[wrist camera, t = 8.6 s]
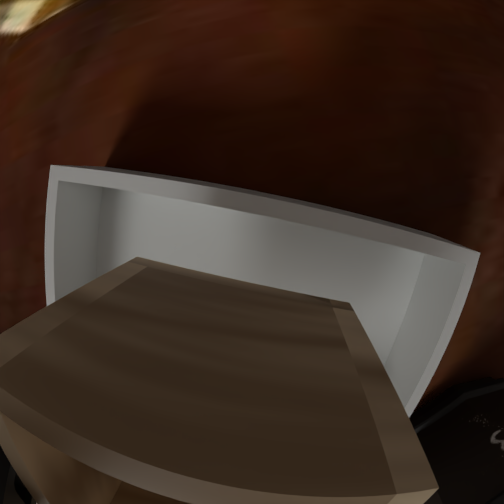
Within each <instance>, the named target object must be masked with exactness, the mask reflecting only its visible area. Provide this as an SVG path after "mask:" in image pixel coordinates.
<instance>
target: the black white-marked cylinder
mask: <svg viewBox="0 0 504 504" xmlns="http://www.w3.org/2000/svg"><path fill="white" fill-rule="evenodd" d="M409 419H410V422H411V424H412V426H413V428H414V430H415V432H416V435H417V437H418V439H419V441H420V444H421V446H422V448H423V450H424V453H425V455H426V457H427V460H428V462H429V464H430V467H431V469H432V472H433V474H434V476H435V479H436V481H437V484H438V486H439V489H438V490H437V491H436V492H435V493H434V494H433V495H432V496H431V497H430V498H429V499H428V500H427V501H426V502H425V503H424V504H504V378H500V379H497V380H494V379H493V378H491V377H488V378H484V379H480V380H476V381H471V382H467V383H463V384H458V385H453V386H452V387H451V388H449V389H448V390H447V391H445V392H444V393H442V394H441V395H440V396H438V397H437V398H435V399H434V400H432V401H431V402H429V403H428V404H426V405H425V406H423V407H422V408H420V409H419V410H417V411H416V412H414V413H413V414H411V416H410V417H409Z"/></svg>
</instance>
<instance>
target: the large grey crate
mask: <svg viewBox="0 0 504 504" xmlns="http://www.w3.org/2000/svg"><path fill="white" fill-rule="evenodd" d="M479 256H480V253H479V252H477V251H474V250H472V249H469V248H467V247H464V246H462V245H459V244H457V243H454V242H452V241H449V240H447V239H444V238H441V237H439V236H436V235H433V234H430V233H427V232H424V231H420V230H417V229H413V228H410V227H406V226H402V225H399V224H395V223H392V222H388V221H384V220H380V219H377V218H373V217H369V216H365V215H361V214H357V213H353V212H349V211H345V210H341V209H337V208H332V207H328V206H324V205H320V204H315V203H311V202H306V201H302V200H297V199H293V198H288V197H283V196H279V195H274V194H269V193H264V192H259V191H254V190H249V189H244V188H239V187H233V186H228V185H222V184H217V183H211V182H205V181H199V180H193V179H187V178H181V177H175V176H168V175H162V174H155V173H148V172H141V171H133V170H126V169H118V168H110V167H97V166H73V165H51V167H50V175H49V184H48V194H47V206H46V223H45V283H46V300H47V306H48V305H50V304H52V303H53V302H55V301H57V300H59V299H60V298H62V297H64V296H66V295H67V294H69V293H71V292H73V291H74V290H76V289H78V288H80V287H82V286H83V285H85V284H87V283H89V282H91V281H92V280H94V279H96V278H98V277H100V276H102V275H103V274H105V273H107V272H109V271H111V270H113V269H115V268H116V267H118V266H120V265H122V264H124V263H126V262H128V261H130V260H131V259H133V258H135V257H141V258H145V259H149V260H154V261H158V262H162V263H166V264H170V265H175V266H179V267H183V268H187V269H192V270H196V271H200V272H205V273H209V274H214V275H218V276H223V277H227V278H232V279H236V280H241V281H245V282H250V283H255V284H259V285H264V286H269V287H273V288H278V289H283V290H288V291H293V292H298V293H303V294H307V295H312V296H317V297H323V298H328V299H333V300H338V301H343V302H348V303H350V304H351V306H352V308H353V310H354V311H355V313H356V315H357V317H358V319H359V321H360V322H361V324H362V326H363V328H364V330H365V332H366V334H367V335H368V337H369V339H370V341H371V343H372V345H373V347H374V349H375V351H376V352H377V354H378V356H379V358H380V360H381V362H382V364H383V366H384V368H385V370H386V372H387V374H388V376H389V378H390V380H391V382H392V384H393V386H394V388H395V390H396V392H397V394H398V396H399V398H400V400H401V402H402V405H403V407H404V409H405V411H406V413H407V415H408V417H410V416H411V414H412V412H413V411H414V409H415V407H416V406H417V404H418V402H419V401H420V399H421V397H422V395H423V393H424V392H425V390H426V388H427V386H428V384H429V382H430V380H431V378H432V377H433V375H434V373H435V371H436V369H437V367H438V365H439V362H440V360H441V358H442V356H443V354H444V352H445V350H446V347H447V345H448V343H449V341H450V338H451V336H452V334H453V331H454V329H455V326H456V324H457V322H458V319H459V316H460V314H461V311H462V309H463V306H464V303H465V300H466V297H467V295H468V292H469V289H470V286H471V283H472V280H473V276H474V273H475V270H476V266H477V263H478V260H479Z"/></svg>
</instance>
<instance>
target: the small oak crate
mask: <svg viewBox="0 0 504 504" xmlns="http://www.w3.org/2000/svg"><path fill="white" fill-rule="evenodd" d="M0 446H1V447H2V449H3V451H4V453H5V455H6V456H7V458H8V460H9V462H10V463H11V465H12V467H13V468H14V470H15V471H16V473H17V475H18V476H19V478H20V479H21V481H22V482H23V484H24V485H25V487H26V488H27V490H28V491H29V493H30V494H31V495H32V497H33V498H34V500H35V501H36V502H37V504H424V503H425V502H426V501H427V500H428V499H429V498H430V497H431V496H432V495H433V494H434V493H435V492H436V491H437V490H438V489H439V486H438V484H437V481H436V479H435V476H434V474H433V472H432V469H431V467H430V464H429V462H428V460H427V457H426V455H425V453H424V450H423V448H422V446H421V444H420V441H419V439H418V437H417V435H416V432H415V430H414V428H413V426H412V424H411V422H410V419H409V417H408V415H407V413H406V411H405V409H404V407H403V405H402V402H401V400H400V398H399V396H398V394H397V392H396V390H395V388H394V386H393V384H392V382H391V380H390V378H389V376H388V374H387V372H386V370H385V368H384V366H383V364H382V362H381V360H380V358H379V356H378V354H377V352H376V351H375V349H374V347H373V345H372V343H371V341H370V339H369V337H368V335H367V334H366V332H365V330H364V328H363V326H362V324H361V322H360V321H359V319H358V317H357V315H356V313H355V311H354V310H353V308H352V306H351V304H350V303H348V302H343V301H338V300H333V299H328V298H323V297H317V296H312V295H307V294H303V293H298V292H293V291H288V290H283V289H278V288H273V287H269V286H264V285H259V284H255V283H250V282H245V281H241V280H236V279H232V278H227V277H223V276H218V275H214V274H209V273H205V272H200V271H196V270H192V269H187V268H183V267H179V266H175V265H170V264H166V263H162V262H158V261H154V260H149V259H145V258H141V257H135V258H133V259H131V260H130V261H128V262H126V263H124V264H122V265H120V266H118V267H116V268H115V269H113V270H111V271H109V272H107V273H105V274H103V275H102V276H100V277H98V278H96V279H94V280H92V281H91V282H89V283H87V284H85V285H83V286H82V287H80V288H78V289H76V290H74V291H73V292H71V293H69V294H67V295H66V296H64V297H62V298H60V299H59V300H57V301H55V302H53V303H52V304H50V305H48V306H46V307H45V308H43V309H41V310H40V311H38V312H36V313H35V314H33V315H31V316H29V317H28V318H26V319H24V320H23V321H21V322H19V323H18V324H16V325H15V326H13V327H11V328H10V329H8V330H6V331H5V332H3V333H2V334H0Z"/></svg>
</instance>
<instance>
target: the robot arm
mask: <svg viewBox="0 0 504 504" xmlns="http://www.w3.org/2000/svg"><path fill="white" fill-rule="evenodd" d="M0 504H36V501H35V500H34V498H33V497H32V495H31V494H30V493H29V491H28V490H27V488H26V487H25V485H24V484H23V482H22V481H21V479H20V478H19V476H18V475H17V473H16V471H15V470H14V468H13V467H12V465H11V463H10V462H9V460H8V458H7V456H6V455H5V453H4V451H3V449H2V447H1V446H0Z"/></svg>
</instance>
